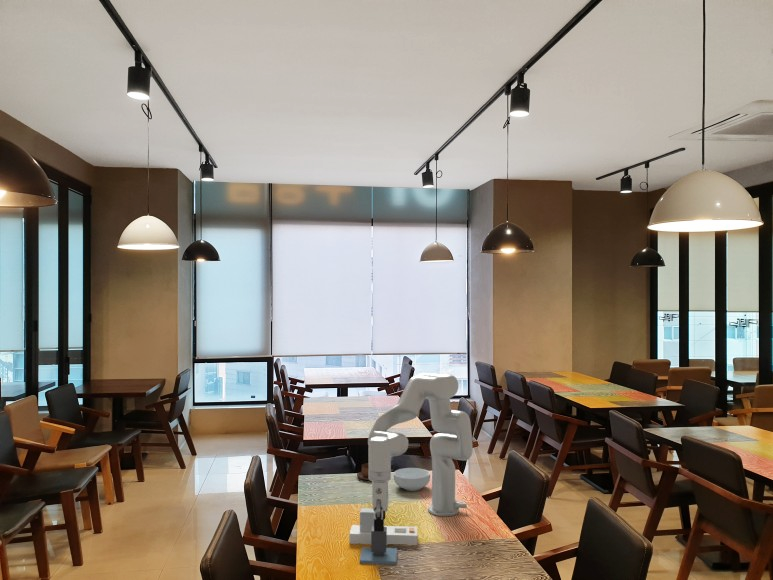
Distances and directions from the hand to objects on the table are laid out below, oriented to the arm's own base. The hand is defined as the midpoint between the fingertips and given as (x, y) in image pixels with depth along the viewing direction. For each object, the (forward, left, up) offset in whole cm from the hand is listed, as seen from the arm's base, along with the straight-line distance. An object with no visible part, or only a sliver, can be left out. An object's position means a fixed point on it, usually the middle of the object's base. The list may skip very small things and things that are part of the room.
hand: (379, 524), depth 197 cm
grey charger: (+5, -14, -9) cm, 17 cm away
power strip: (-1, -14, -11) cm, 17 cm away
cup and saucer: (+10, -85, -11) cm, 86 cm away
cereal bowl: (-11, -72, -11) cm, 73 cm away
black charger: (0, 0, -10) cm, 10 cm away
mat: (0, 0, -11) cm, 11 cm away
